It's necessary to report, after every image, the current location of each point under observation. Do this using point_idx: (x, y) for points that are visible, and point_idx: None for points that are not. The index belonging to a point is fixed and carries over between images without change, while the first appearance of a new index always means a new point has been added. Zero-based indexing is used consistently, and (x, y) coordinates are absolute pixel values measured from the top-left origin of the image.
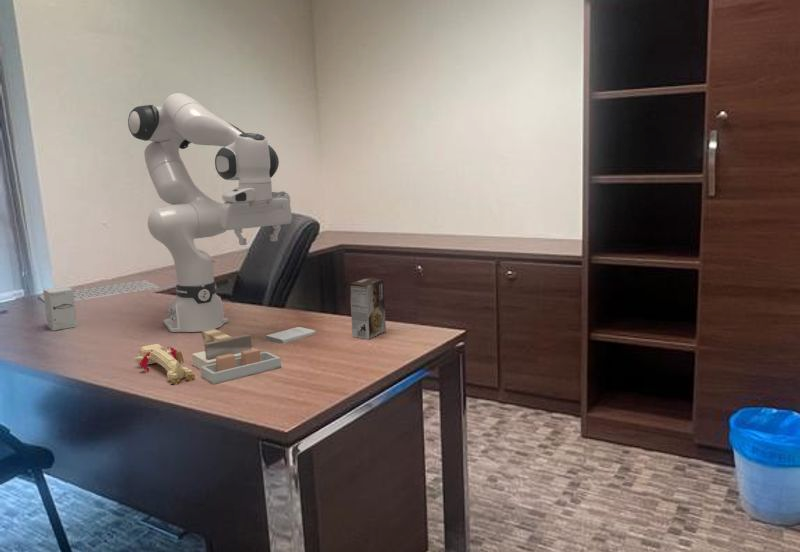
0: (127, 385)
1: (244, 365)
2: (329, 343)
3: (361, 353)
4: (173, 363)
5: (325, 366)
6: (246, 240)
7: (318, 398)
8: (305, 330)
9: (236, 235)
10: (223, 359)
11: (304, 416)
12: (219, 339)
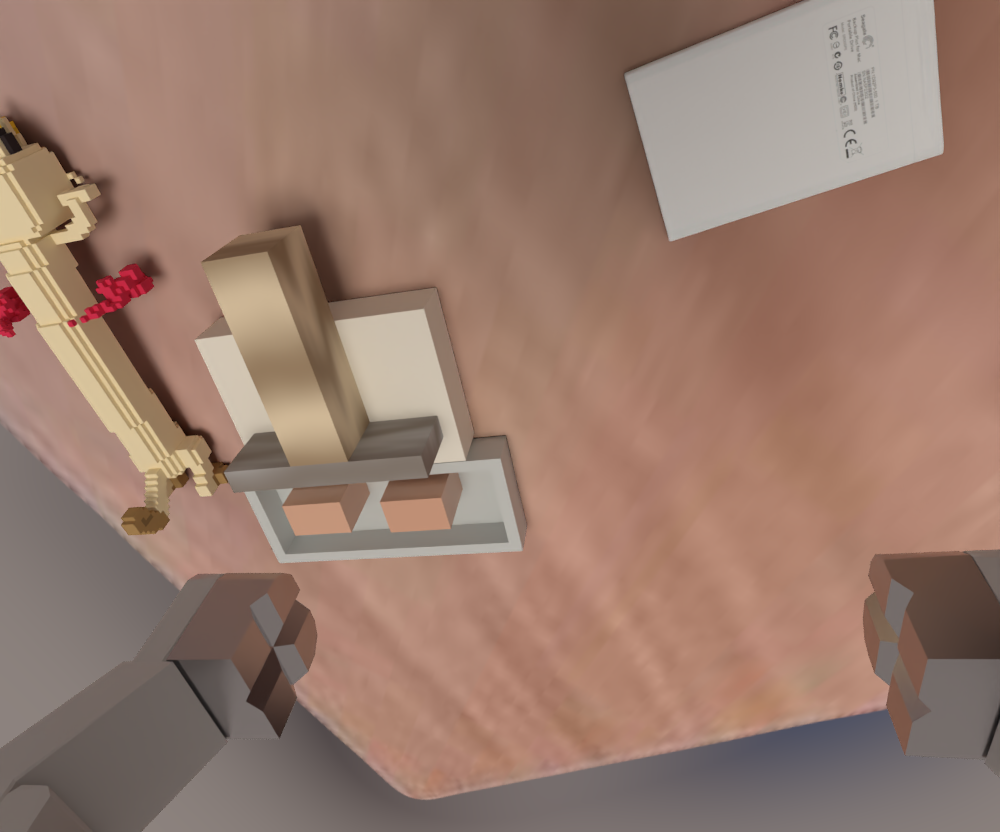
0: (19, 402)
1: (385, 550)
2: (858, 373)
3: (861, 560)
4: (135, 453)
5: (662, 595)
6: (293, 705)
7: (527, 743)
8: (897, 111)
9: (49, 714)
10: (309, 532)
11: (463, 784)
12: (286, 454)
